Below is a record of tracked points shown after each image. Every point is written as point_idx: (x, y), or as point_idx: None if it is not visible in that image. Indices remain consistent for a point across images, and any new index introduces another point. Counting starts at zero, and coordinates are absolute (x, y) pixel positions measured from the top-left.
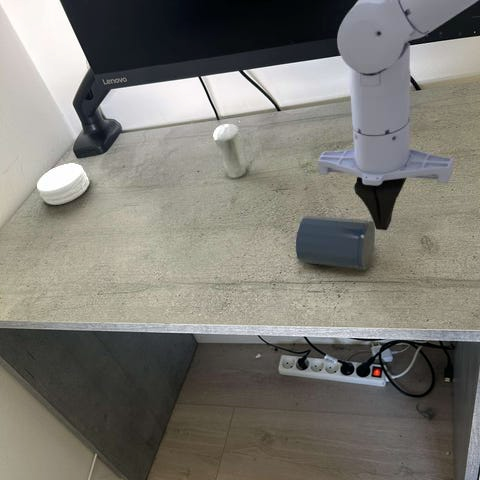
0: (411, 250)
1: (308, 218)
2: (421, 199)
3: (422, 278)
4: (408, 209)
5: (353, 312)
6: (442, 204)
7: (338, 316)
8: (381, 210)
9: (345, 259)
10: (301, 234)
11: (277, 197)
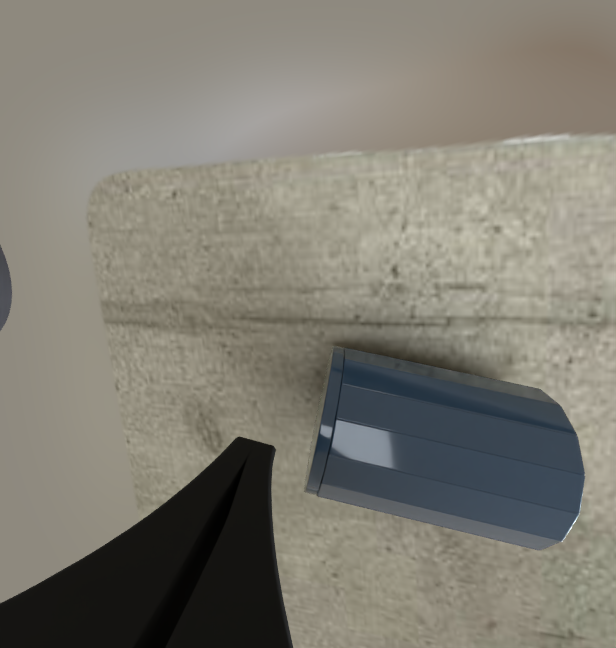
0: (236, 415)
1: (538, 535)
2: None
3: (203, 330)
4: None
5: (352, 211)
6: None
7: (392, 192)
8: (200, 520)
9: (383, 362)
10: (563, 463)
11: (569, 615)
